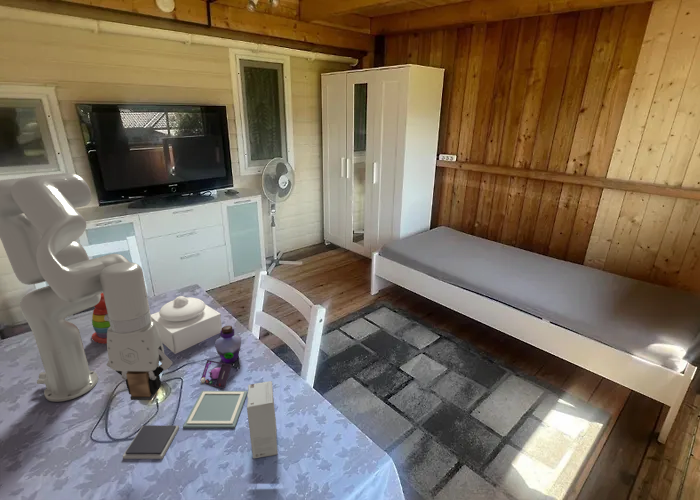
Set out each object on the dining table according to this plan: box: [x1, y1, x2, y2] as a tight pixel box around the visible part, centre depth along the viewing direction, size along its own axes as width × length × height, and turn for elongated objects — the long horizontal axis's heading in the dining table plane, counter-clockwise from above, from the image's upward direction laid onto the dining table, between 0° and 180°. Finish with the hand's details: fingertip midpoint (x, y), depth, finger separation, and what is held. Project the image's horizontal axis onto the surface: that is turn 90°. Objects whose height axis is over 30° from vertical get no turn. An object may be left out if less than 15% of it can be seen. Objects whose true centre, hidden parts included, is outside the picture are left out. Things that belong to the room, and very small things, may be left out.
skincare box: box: [246, 380, 278, 459], centre depth 87 cm, size 8×6×15 cm
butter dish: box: [150, 295, 223, 355], centre depth 131 cm, size 18×18×16 cm
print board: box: [182, 390, 248, 429], centre depth 99 cm, size 13×13×1 cm
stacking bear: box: [91, 293, 110, 344], centre depth 129 cm, size 11×10×18 cm
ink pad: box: [122, 424, 180, 460], centre depth 89 cm, size 9×9×1 cm
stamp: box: [126, 371, 162, 401], centre depth 84 cm, size 4×4×7 cm
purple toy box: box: [200, 359, 232, 389], centre depth 111 cm, size 7×5×9 cm
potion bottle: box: [214, 325, 242, 364], centre depth 118 cm, size 9×9×12 cm
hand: (145, 389), depth 84 cm, fingers closed on stamp, 4 cm apart
